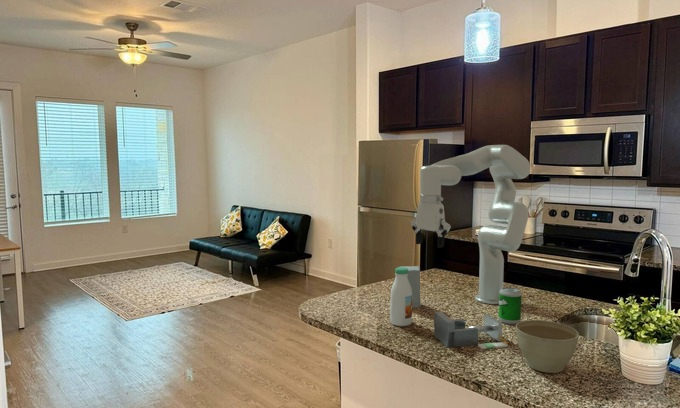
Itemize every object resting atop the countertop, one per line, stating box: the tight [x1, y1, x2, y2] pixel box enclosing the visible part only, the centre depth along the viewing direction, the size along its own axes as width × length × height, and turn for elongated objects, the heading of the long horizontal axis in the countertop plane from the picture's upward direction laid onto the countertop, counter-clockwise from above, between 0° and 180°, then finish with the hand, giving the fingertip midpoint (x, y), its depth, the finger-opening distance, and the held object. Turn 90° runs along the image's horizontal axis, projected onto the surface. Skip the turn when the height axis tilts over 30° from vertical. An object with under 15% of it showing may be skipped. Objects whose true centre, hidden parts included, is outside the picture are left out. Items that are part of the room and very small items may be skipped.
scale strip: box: [477, 341, 509, 350], centre depth 144 cm, size 9×2×1 cm, turn 102°
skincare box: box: [398, 265, 421, 309], centre depth 184 cm, size 8×7×16 cm
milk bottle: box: [389, 266, 413, 327], centre depth 164 cm, size 8×8×20 cm
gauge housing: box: [433, 311, 479, 348], centre depth 148 cm, size 10×10×8 cm
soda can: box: [498, 286, 523, 325], centre depth 166 cm, size 8×8×12 cm
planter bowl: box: [515, 319, 580, 374], centre depth 129 cm, size 16×16×11 cm
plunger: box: [467, 313, 509, 345], centre depth 149 cm, size 9×13×6 cm
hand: (429, 245), depth 170 cm, fingers open, 9 cm apart
